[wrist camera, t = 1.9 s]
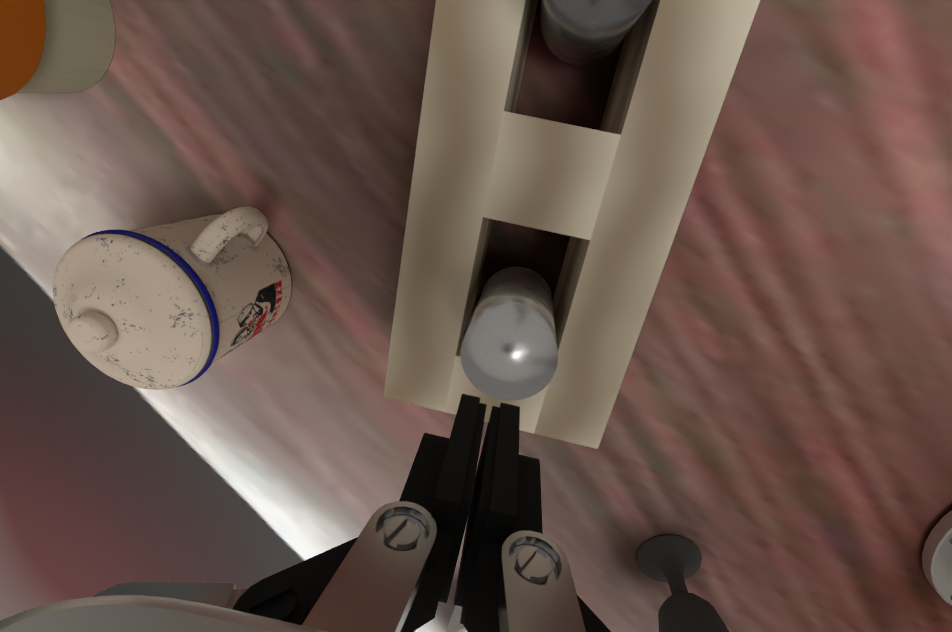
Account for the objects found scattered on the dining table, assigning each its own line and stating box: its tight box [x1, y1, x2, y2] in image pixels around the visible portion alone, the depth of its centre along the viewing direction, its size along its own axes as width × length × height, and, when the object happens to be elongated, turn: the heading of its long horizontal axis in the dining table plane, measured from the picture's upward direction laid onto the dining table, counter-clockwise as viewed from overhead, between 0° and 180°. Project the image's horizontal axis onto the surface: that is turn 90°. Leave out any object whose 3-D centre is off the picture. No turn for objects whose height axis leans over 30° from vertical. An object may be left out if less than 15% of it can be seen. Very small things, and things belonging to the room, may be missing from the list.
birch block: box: [383, 0, 760, 449], centre depth 23 cm, size 12×26×8 cm, turn 169°
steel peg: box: [461, 267, 558, 401], centre depth 22 cm, size 4×4×8 cm
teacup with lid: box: [53, 206, 292, 389], centre depth 26 cm, size 12×9×12 cm
